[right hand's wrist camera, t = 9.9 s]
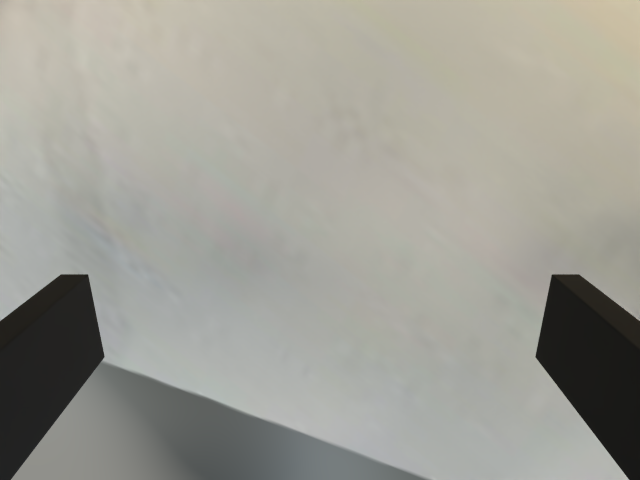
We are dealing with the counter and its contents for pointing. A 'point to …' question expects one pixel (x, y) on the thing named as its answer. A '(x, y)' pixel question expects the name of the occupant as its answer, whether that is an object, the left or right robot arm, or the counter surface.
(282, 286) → the counter surface
